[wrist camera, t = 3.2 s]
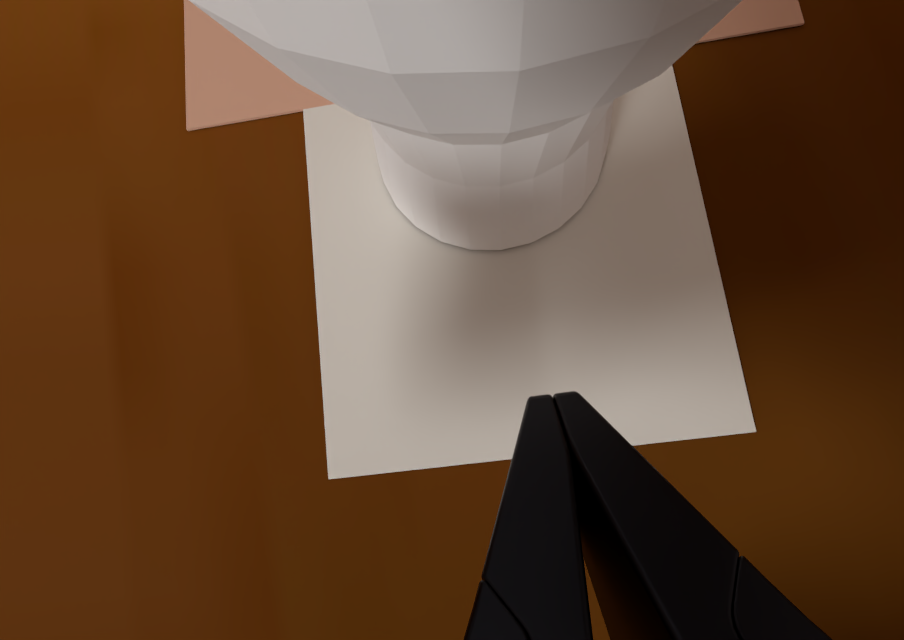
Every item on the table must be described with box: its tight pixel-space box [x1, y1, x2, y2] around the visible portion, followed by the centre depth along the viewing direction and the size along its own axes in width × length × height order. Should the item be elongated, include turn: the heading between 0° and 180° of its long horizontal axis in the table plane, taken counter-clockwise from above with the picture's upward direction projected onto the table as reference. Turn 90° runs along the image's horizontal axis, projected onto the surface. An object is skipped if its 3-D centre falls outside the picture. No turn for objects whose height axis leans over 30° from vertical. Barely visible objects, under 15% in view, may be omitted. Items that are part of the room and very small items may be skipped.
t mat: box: [184, 0, 805, 479], centre depth 16 cm, size 21×22×1 cm
